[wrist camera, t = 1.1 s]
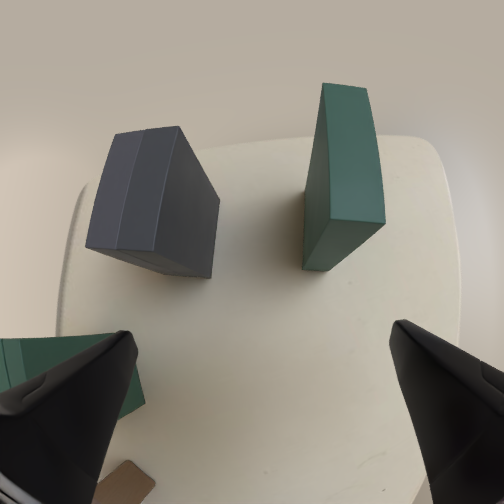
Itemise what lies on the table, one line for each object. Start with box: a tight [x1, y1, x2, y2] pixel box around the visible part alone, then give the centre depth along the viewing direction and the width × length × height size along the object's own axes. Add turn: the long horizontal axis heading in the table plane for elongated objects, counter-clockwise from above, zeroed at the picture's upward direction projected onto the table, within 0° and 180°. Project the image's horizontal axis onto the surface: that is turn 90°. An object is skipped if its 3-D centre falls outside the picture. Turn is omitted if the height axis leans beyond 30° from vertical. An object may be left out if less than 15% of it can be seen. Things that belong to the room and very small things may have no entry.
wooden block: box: [92, 460, 155, 504], centre depth 15 cm, size 4×4×8 cm
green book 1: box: [3, 333, 145, 420], centre depth 15 cm, size 7×2×13 cm, turn 11°
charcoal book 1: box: [85, 130, 185, 276], centre depth 18 cm, size 7×2×11 cm, turn 175°
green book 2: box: [302, 83, 386, 271], centre depth 16 cm, size 7×2×13 cm, turn 175°
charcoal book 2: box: [116, 126, 220, 278], centre depth 18 cm, size 7×2×11 cm, turn 176°
